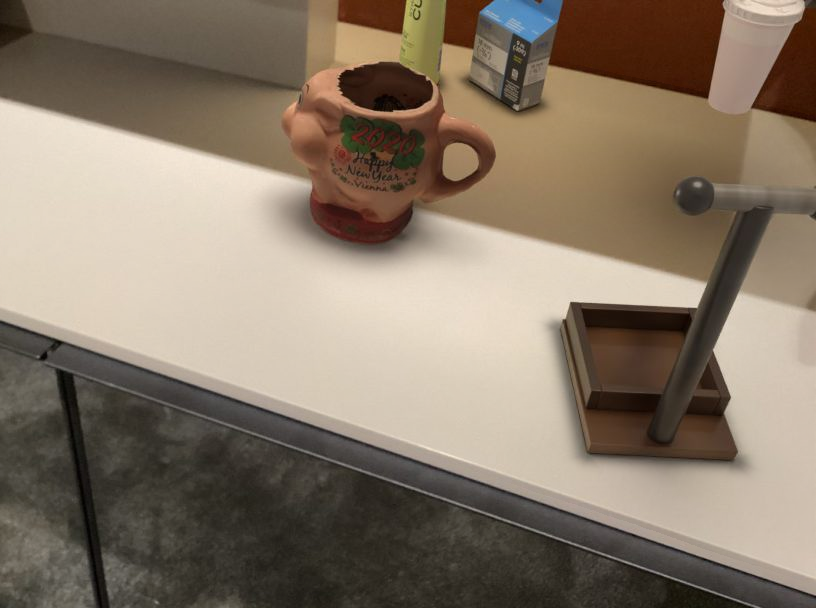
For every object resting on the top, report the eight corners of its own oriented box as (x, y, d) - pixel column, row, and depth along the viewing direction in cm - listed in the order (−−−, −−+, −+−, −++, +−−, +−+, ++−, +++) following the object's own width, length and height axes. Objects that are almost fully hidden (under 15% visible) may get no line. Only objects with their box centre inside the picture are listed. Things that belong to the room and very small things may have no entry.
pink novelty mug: (488, 202, 96) (513, 71, 86) (471, 275, 88) (497, 139, 78) (295, 169, 99) (298, 40, 90) (261, 237, 91) (260, 101, 81)
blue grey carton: (466, 80, 114) (482, -25, 106) (491, 72, 116) (509, -32, 107) (516, 112, 109) (538, 5, 101) (542, 104, 111) (565, -3, 102)
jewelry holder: (688, 333, 83) (791, 82, 66) (734, 460, 72) (869, 199, 56) (559, 327, 83) (631, 74, 67) (587, 453, 73) (680, 190, 56)
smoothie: (765, 127, 84) (828, -35, 75) (690, 114, 86) (741, -46, 76) (766, 93, 89) (826, -64, 79) (694, 81, 90) (744, -74, 80)
